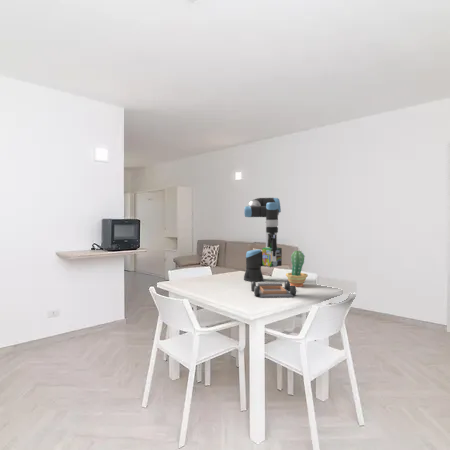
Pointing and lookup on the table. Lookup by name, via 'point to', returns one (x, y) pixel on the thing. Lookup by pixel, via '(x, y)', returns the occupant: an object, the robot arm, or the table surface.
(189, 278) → the table surface
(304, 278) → the potted cactus
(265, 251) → the chalk box
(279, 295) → the chassis
